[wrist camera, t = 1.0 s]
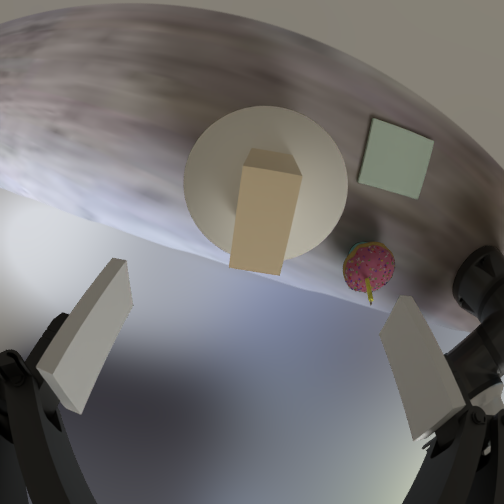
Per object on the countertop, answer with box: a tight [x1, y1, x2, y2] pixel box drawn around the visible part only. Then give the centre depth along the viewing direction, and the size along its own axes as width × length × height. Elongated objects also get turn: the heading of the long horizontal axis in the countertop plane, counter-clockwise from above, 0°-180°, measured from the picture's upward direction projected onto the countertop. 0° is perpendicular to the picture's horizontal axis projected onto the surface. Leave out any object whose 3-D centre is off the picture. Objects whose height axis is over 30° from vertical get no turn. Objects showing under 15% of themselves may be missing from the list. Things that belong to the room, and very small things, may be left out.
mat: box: [357, 118, 434, 200], centre depth 35 cm, size 11×10×1 cm
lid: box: [184, 106, 348, 276], centre depth 24 cm, size 17×17×10 cm
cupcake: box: [343, 242, 395, 305], centre depth 39 cm, size 9×8×12 cm
